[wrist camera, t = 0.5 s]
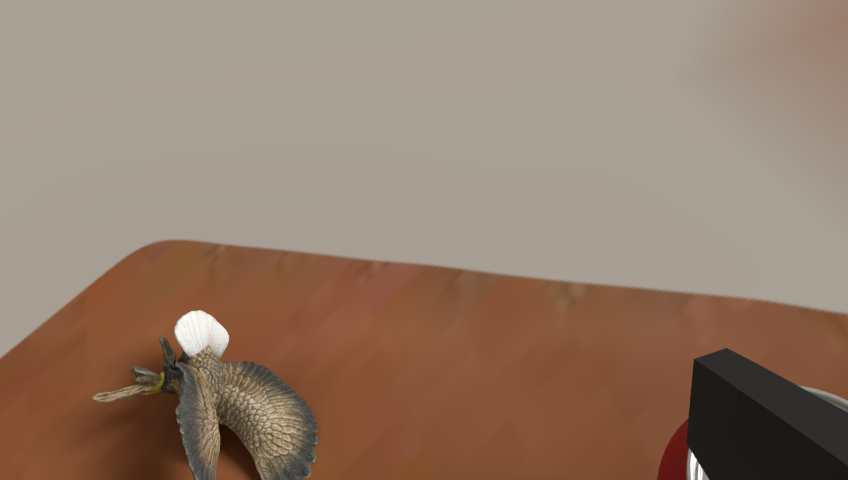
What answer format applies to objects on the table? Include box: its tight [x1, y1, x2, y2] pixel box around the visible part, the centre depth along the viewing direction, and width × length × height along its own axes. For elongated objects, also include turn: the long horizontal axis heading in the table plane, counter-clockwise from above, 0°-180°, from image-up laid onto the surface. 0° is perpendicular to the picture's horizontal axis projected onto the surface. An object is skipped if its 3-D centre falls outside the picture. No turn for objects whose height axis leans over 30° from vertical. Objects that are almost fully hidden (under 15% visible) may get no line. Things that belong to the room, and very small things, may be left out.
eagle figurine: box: [92, 310, 318, 480], centre depth 32 cm, size 8×7×9 cm
